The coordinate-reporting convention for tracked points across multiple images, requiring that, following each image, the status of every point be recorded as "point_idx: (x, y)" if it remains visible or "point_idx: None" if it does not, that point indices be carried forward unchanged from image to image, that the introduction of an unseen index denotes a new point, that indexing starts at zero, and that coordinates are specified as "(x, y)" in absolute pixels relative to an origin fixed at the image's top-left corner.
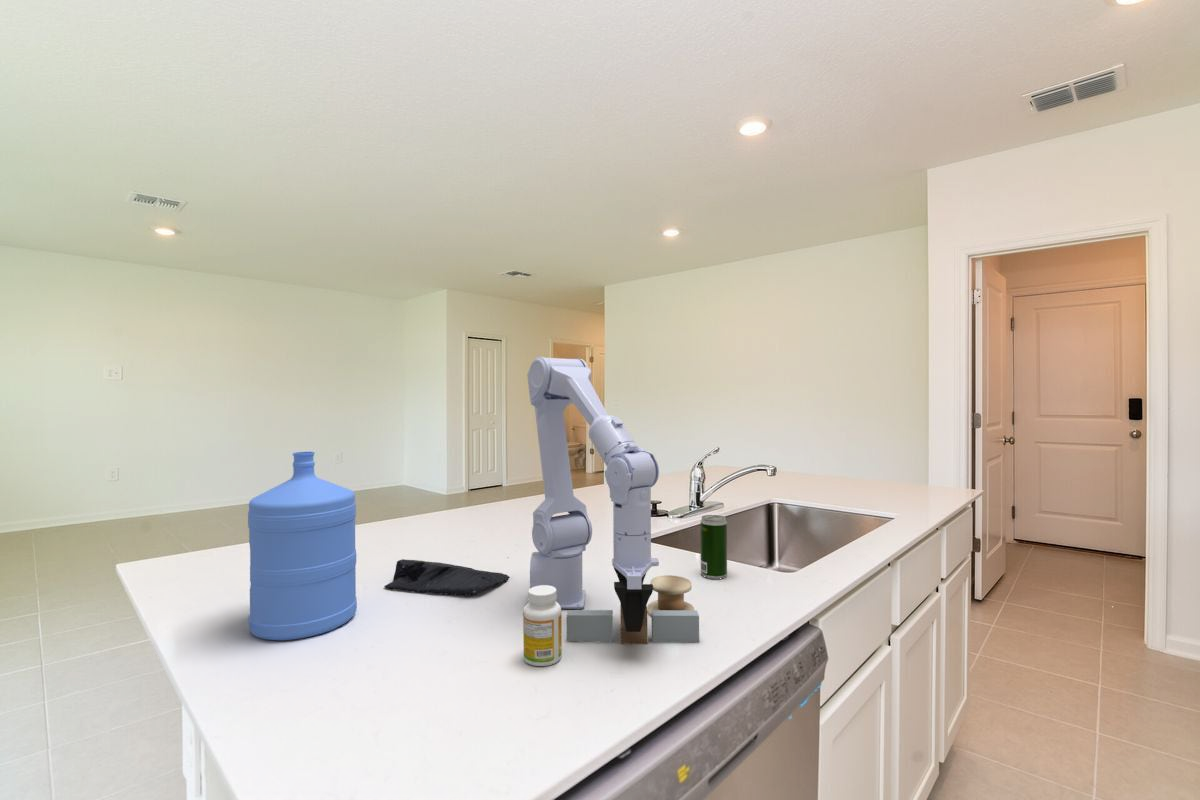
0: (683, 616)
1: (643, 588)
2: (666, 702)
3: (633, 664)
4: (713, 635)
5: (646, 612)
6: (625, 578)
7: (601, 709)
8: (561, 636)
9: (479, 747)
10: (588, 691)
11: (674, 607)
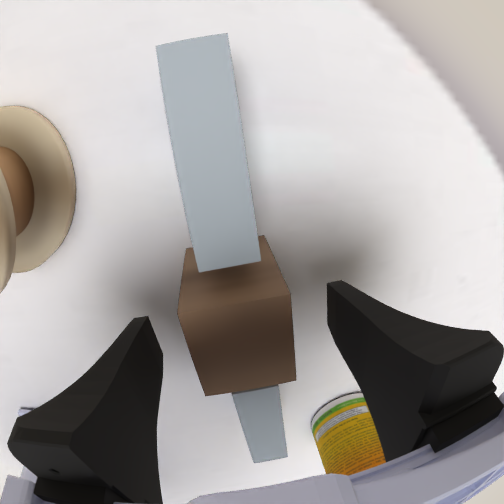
0: (238, 110)
1: (484, 381)
2: (499, 178)
3: (383, 257)
4: (155, 14)
5: (290, 294)
6: (146, 455)
7: (495, 282)
8: (358, 425)
9: (500, 369)
10: (456, 315)
11: (18, 177)
